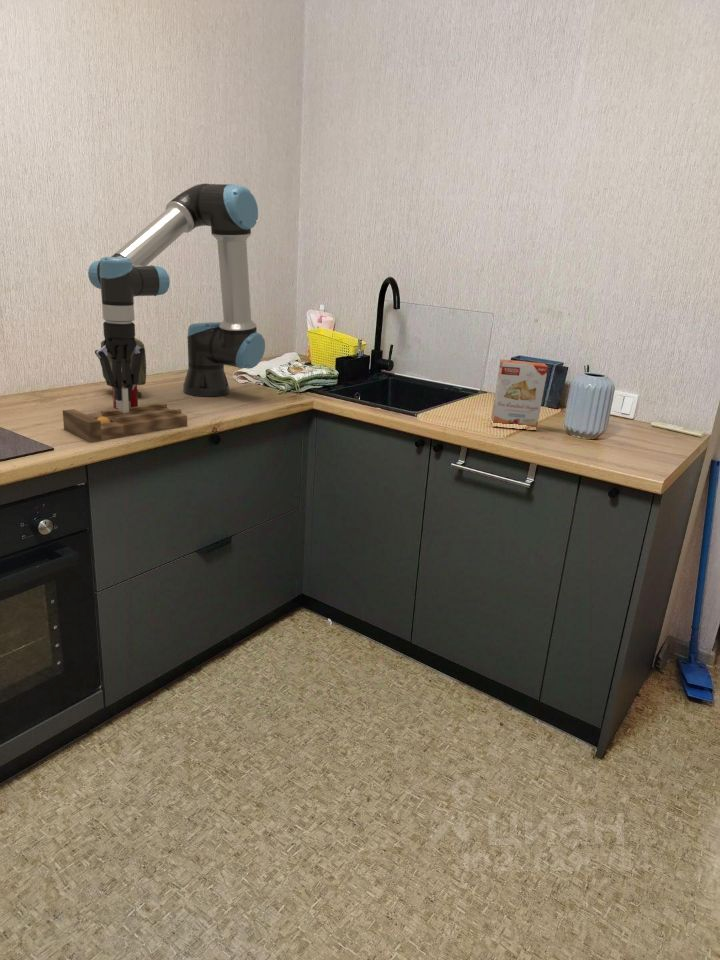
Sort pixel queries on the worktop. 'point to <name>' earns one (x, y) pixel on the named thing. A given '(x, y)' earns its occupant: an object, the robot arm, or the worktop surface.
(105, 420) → the ball
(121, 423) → the board
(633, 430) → the worktop surface
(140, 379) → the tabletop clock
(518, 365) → the cracker box
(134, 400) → the soda can
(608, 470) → the worktop surface
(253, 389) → the worktop surface
